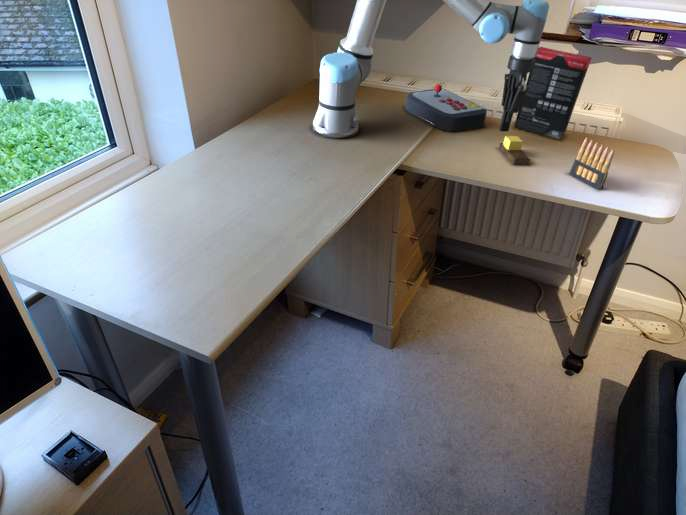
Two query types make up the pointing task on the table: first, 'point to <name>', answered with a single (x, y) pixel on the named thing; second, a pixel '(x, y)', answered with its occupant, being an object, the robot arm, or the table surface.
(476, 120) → the arcade joystick
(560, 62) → the graphics card box
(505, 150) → the walnut strip
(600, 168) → the ammunition clip
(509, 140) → the yellow block
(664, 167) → the table surface
